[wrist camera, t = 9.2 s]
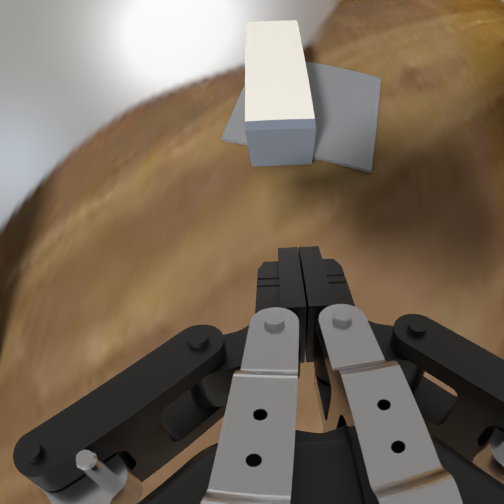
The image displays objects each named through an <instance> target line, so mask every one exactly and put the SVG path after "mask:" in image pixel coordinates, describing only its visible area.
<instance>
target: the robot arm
mask: <svg viewBox="0 0 504 504" xmlns="http://www.w3.org/2000/svg"><path fill="white" fill-rule="evenodd" d="M305 354H306V362H314V367H315V374H314V384H315V389H316V394H317V398H318V403H319V408H320V413H321V418H322V423H323V431H324V433H311V432H305V431H298V430H296V410H297V386H298V378H299V376H300V363H304V359H305ZM425 371H426V372H427V373H429V374H430V375H432V376H434V377H435V378H437V379H438V380H440V381H442V382H443V383H445V384H446V385H448V386H450V387H451V388H453V389H454V390H455V391H456V393H457V395H458V396H454V395H452V394H451V393H449V392H447V391H446V390H444V389H443V388H441V387H439V386H438V385H436V384H435V383H433V382H432V381H430V380H428V379H427V378H425V377H424V376H423V375H424V372H425ZM223 416H224V419H223V424H222V428H221V433H220V437H219V442H218V443H217V444H214V445H212V446H210V447H208V448H206V449H204V450H202V451H201V452H199V453H198V454H197V455H195V456H194V457H193V458H191V459H190V460H189V461H188V462H187V463H186V464H185V465H183V466H182V467H181V468H180V469H179V470H178V471H177V472H175V473H174V474H173V475H172V476H171V477H170V478H168V479H167V480H166V481H165V482H164V483H162V484H161V485H160V486H159V487H158V488H156V489H155V490H154V491H153V492H151V493H150V494H149V495H148V496H146V497H145V498H144V499H143V500H141V501H140V502H139V503H138V501H139V500H140V498H141V495H142V484H141V482H143V481H144V480H145V479H147V478H148V477H149V476H151V475H152V474H153V473H155V472H156V471H157V470H159V469H160V468H161V467H162V466H164V465H165V464H166V463H168V462H169V461H170V460H171V459H173V458H174V457H175V456H176V455H178V454H179V453H180V452H181V451H183V450H184V449H185V448H186V447H188V446H189V445H190V444H191V443H193V442H194V441H195V440H196V439H197V438H199V437H200V436H201V435H202V434H203V433H204V432H206V431H207V430H208V429H209V428H210V427H212V426H213V425H214V424H215V423H216V422H217V421H218V420H220V419H221V418H222V417H223ZM466 458H467V459H466ZM13 460H14V464H15V466H16V468H17V469H18V471H19V472H20V473H22V474H23V475H24V476H25V477H27V478H28V479H29V480H31V481H32V482H33V483H34V484H35V485H36V486H37V487H38V488H39V489H41V490H42V491H43V492H45V493H46V495H47V496H48V498H49V500H50V502H51V503H52V504H137V503H138V504H504V360H503V359H501V358H499V357H498V356H496V355H494V354H492V353H490V352H489V351H487V350H485V349H483V348H482V347H480V346H478V345H476V344H475V343H473V342H471V341H469V340H467V339H466V338H464V337H462V336H460V335H458V334H457V333H455V332H453V331H451V330H449V329H447V328H446V327H444V326H442V325H440V324H438V323H437V322H435V321H433V320H431V319H429V318H427V317H425V316H422V315H418V314H407V315H403V316H401V317H400V318H398V319H397V320H396V322H395V324H394V326H389V325H382V324H376V323H373V322H370V321H368V320H367V318H366V316H365V314H364V313H363V312H362V311H361V310H360V309H358V308H357V307H355V305H354V302H353V299H352V296H351V293H350V290H349V287H348V284H347V281H346V278H345V276H344V272H343V269H342V267H341V265H340V264H339V263H337V262H336V261H335V260H334V259H322V257H321V253H320V250H319V247H318V246H314V247H299V254H298V248H297V247H293V248H278V261H276V262H264V263H263V264H262V265H261V267H260V268H259V269H258V278H257V294H256V310H255V315H254V316H253V317H252V318H251V320H250V324H249V325H248V326H247V327H246V328H244V329H242V330H240V331H237V332H234V333H230V334H226V335H223V334H222V332H221V331H220V330H219V329H217V328H216V327H214V326H210V325H195V326H192V327H189V328H187V329H185V330H183V331H182V332H180V333H179V334H177V335H176V336H174V337H173V338H171V339H170V340H168V341H167V342H165V343H164V344H163V345H161V346H160V347H158V348H157V349H155V350H154V351H152V352H151V353H149V354H148V355H146V356H145V357H143V358H142V359H140V360H139V361H137V362H136V363H134V364H133V365H131V366H130V367H128V368H127V369H125V370H124V371H122V372H121V373H119V374H118V375H116V376H115V377H113V378H112V379H110V380H109V381H107V382H106V383H104V384H103V385H101V386H100V387H98V388H97V389H95V390H94V391H92V392H91V393H89V394H87V395H86V396H84V397H83V398H81V399H80V400H78V401H77V402H75V403H74V404H72V405H71V406H69V407H67V408H66V409H64V410H63V411H61V412H60V413H58V414H57V415H55V416H53V417H52V418H50V419H49V420H47V421H46V422H44V423H42V424H41V425H39V426H38V427H36V428H34V429H33V430H31V431H30V432H28V433H27V434H25V435H24V436H22V437H21V438H20V439H19V441H18V442H17V444H16V446H15V448H14V452H13ZM469 460H470V461H469ZM472 462H473V463H472Z"/></svg>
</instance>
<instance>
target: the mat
mask: <svg viewBox="0 0 504 504" xmlns="http://www.w3.org/2000/svg"><path fill="white" fill-rule="evenodd" d="M305 63H306V68H307V74H308V79H309V85H310V91H311V97H312V103H313V110H314V116H315V123H316V135H315V143H314V152H313V159H316V160H320V161H324V162H329V163H333V164H337V165H341V166H345V167H349V168H353V169H356V170H360V171H364V172H368V173H371V171H372V164H373V156H374V148H375V139H376V130H377V119H378V108H379V95H380V80H381V78H379V77H375V76H371V75H367V74H363V73H359V72H355V71H351V70H347V69H342V68H338V67H333V66H328V65H323V64H318V63H312V62H307V61H305ZM221 139H222V141H224V142H230V143H236V144H242V145H247V139H246V134H245V85H244V87H243V89H242V92H241V94H240V96H239V98H238V101H237V103H236V105H235V108H234V110H233V112H232V114H231V117H230V119H229V121H228V124H227V126H226V129H225V131H224V133H223V136H222V138H221Z"/></svg>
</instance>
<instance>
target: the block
mask: <svg viewBox="0 0 504 504" xmlns="http://www.w3.org/2000/svg"><path fill="white" fill-rule="evenodd" d="M245 52H246V53H245V134H246V139H247V145H248V150H249V155H250V160H251V166H252V167H257V166H279V165H312V160H313V152H314V143H315V135H316V123H315V116H314V110H313V103H312V97H311V91H310V85H309V79H308V74H307V68H306V63H305V58H304V52H303V47H302V42H301V37H300V33H299V28H298V23H297V21H295V20H294V21H265V22H250V23H246V46H245Z"/></svg>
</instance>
